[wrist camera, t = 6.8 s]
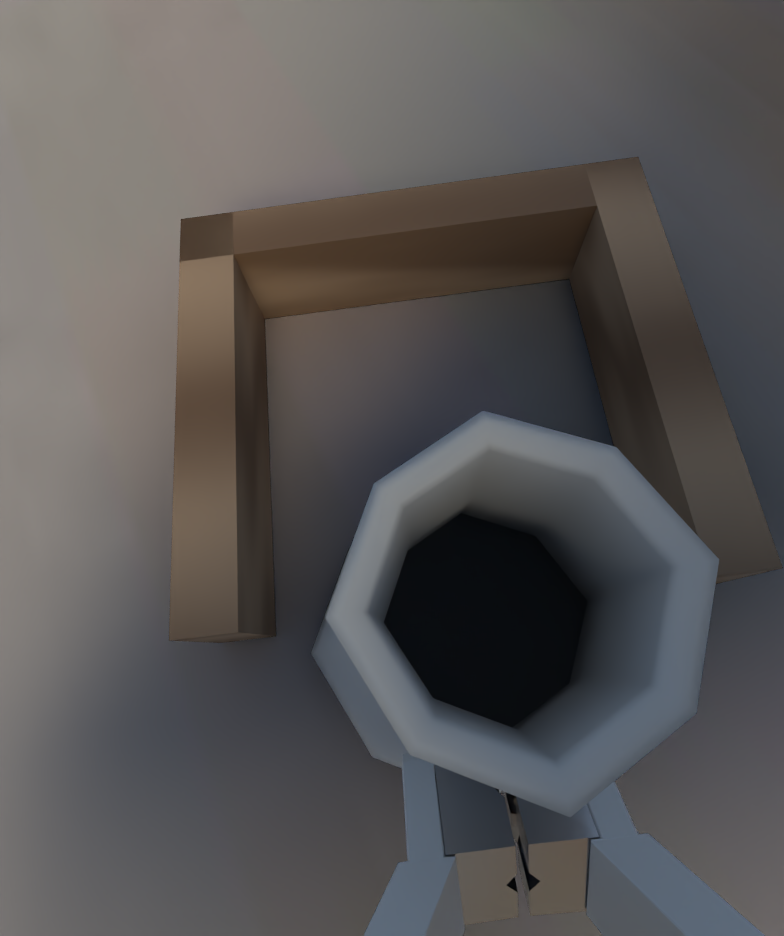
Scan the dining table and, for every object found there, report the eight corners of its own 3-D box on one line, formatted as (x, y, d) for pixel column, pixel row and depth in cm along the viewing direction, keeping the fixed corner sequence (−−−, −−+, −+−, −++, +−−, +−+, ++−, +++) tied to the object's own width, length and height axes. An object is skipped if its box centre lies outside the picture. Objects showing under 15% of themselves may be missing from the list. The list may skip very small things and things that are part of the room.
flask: (427, 451, 16) (426, 145, 6) (653, 603, 14) (1133, 499, 4) (264, 660, 14) (-69, 675, 5) (497, 862, 12) (732, 1572, 3)
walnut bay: (219, 287, 18) (180, 219, 15) (604, 235, 18) (638, 157, 15) (220, 642, 14) (168, 640, 11) (710, 585, 14) (782, 567, 11)
